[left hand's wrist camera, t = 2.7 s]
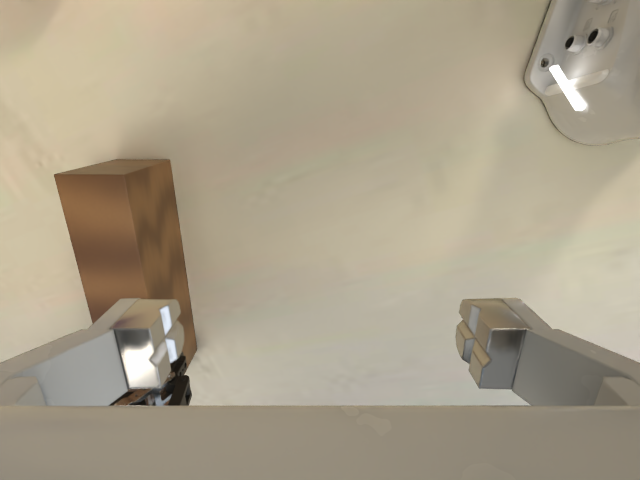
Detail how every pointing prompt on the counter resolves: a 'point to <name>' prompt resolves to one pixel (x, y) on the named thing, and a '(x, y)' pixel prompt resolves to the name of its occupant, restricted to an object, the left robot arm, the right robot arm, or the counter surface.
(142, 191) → the box
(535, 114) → the counter surface
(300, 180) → the counter surface
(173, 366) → the right robot arm
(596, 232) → the counter surface
